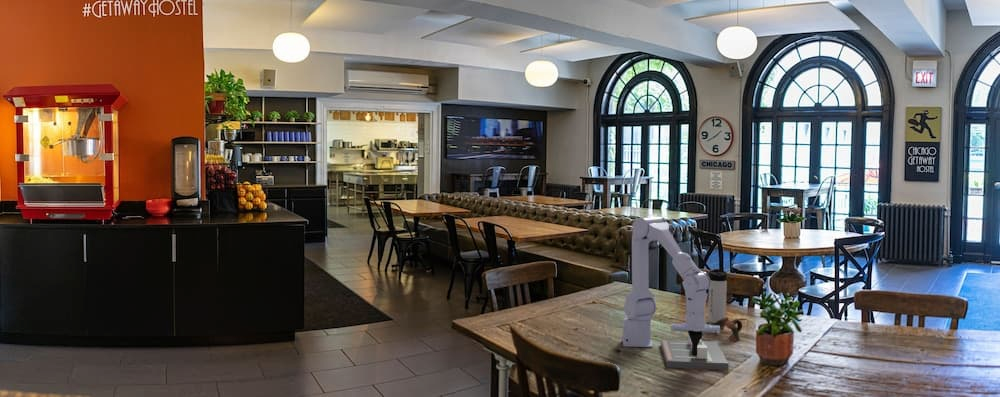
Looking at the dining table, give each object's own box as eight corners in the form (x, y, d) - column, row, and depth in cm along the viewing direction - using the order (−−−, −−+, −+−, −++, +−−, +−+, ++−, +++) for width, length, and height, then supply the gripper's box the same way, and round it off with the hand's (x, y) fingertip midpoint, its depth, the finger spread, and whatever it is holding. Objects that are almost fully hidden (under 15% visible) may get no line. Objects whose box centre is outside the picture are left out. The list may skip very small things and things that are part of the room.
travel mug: (723, 321, 265) (724, 269, 264) (727, 326, 259) (728, 272, 257) (706, 320, 266) (707, 268, 264) (709, 325, 260) (711, 272, 258)
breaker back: (689, 344, 229) (689, 334, 229) (687, 341, 232) (688, 331, 232) (698, 345, 229) (698, 334, 229) (697, 342, 232) (697, 332, 232)
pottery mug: (727, 345, 238) (715, 323, 239) (711, 350, 246) (700, 328, 248) (753, 332, 242) (741, 310, 244) (737, 337, 251) (726, 316, 252)
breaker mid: (691, 351, 222) (692, 340, 222) (690, 348, 225) (690, 338, 225) (701, 351, 222) (701, 341, 222) (700, 348, 225) (700, 338, 225)
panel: (667, 367, 214) (667, 360, 214) (660, 345, 236) (660, 339, 236) (728, 369, 212) (728, 362, 212) (716, 347, 234) (716, 341, 233)
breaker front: (697, 358, 215) (697, 347, 215) (695, 355, 218) (696, 344, 218) (707, 358, 215) (707, 348, 215) (705, 355, 218) (706, 345, 218)
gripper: (672, 314, 213) (671, 357, 214) (722, 315, 211) (721, 359, 212) (670, 308, 220) (669, 350, 221) (718, 309, 218) (717, 352, 219)
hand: (694, 354), depth 217 cm, fingers closed, pressing on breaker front
